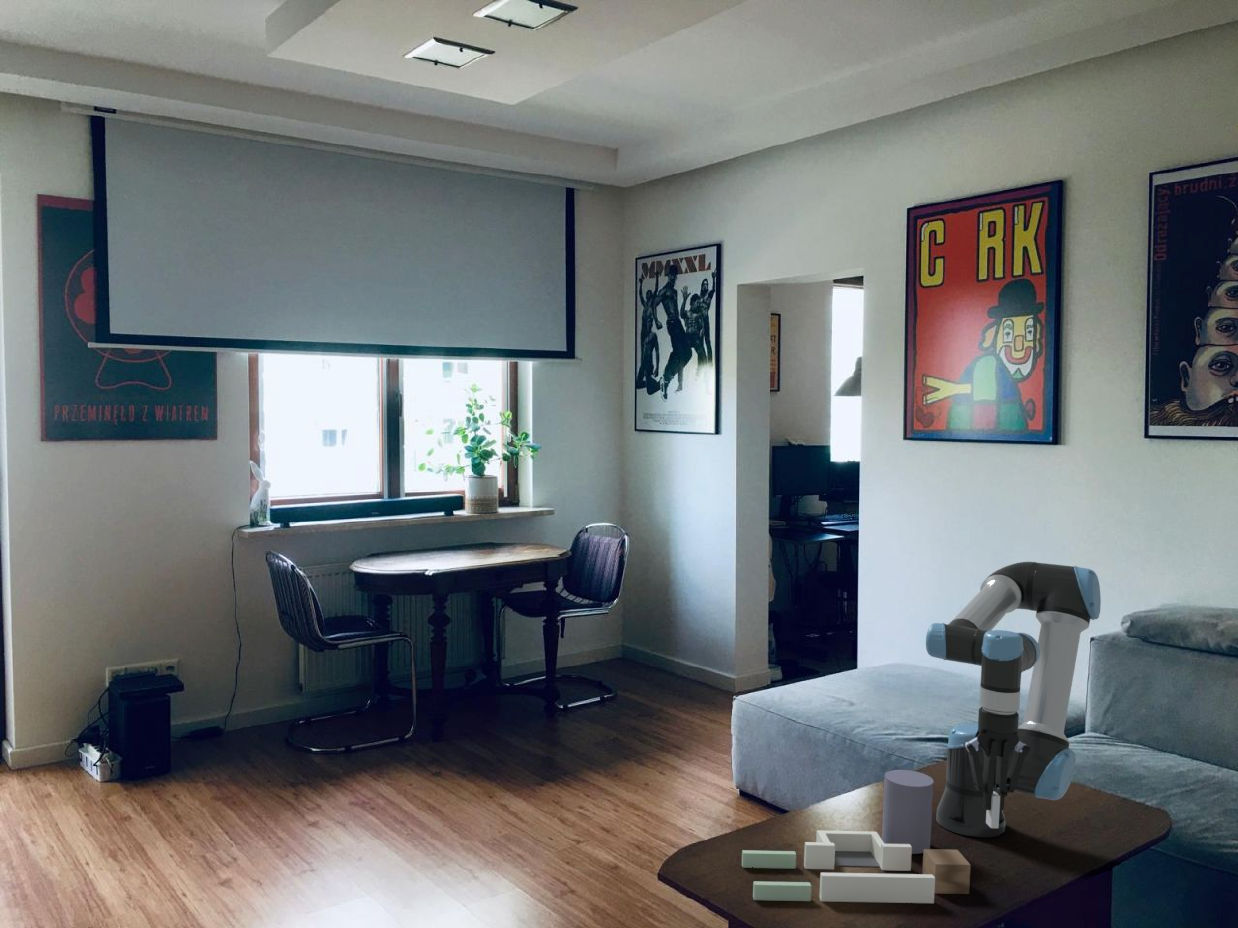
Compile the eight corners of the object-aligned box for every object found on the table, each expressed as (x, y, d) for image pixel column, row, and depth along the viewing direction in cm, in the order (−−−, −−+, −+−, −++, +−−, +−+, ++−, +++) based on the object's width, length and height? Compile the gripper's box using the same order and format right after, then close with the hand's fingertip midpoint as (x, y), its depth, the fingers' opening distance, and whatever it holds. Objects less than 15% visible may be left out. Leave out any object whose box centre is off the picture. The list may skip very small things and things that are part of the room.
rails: (794, 865, 212) (794, 851, 212) (810, 900, 197) (811, 885, 197) (741, 864, 212) (742, 850, 212) (754, 899, 196) (754, 884, 196)
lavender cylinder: (895, 856, 218) (898, 787, 218) (873, 836, 228) (876, 770, 228) (939, 853, 220) (942, 785, 220) (915, 834, 231) (918, 768, 230)
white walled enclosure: (895, 849, 222) (897, 827, 221) (933, 903, 198) (935, 877, 197) (795, 847, 221) (796, 825, 220) (821, 901, 197) (822, 875, 197)
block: (955, 878, 209) (957, 849, 209) (968, 894, 202) (970, 864, 202) (922, 877, 209) (923, 848, 209) (934, 893, 202) (935, 864, 202)
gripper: (1022, 705, 208) (1016, 819, 209) (959, 702, 207) (953, 817, 208) (1039, 715, 200) (1032, 833, 201) (973, 713, 200) (967, 831, 201)
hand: (992, 825), depth 205 cm, fingers closed
